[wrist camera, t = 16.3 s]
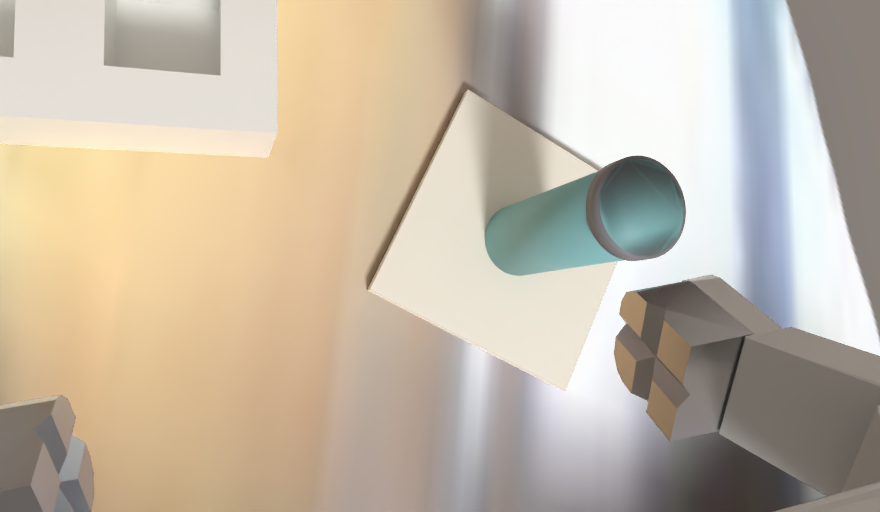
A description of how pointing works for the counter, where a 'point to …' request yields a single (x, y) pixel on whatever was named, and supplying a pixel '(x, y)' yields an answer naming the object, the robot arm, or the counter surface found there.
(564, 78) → the counter surface
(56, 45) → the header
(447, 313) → the mat
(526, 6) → the counter surface
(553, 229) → the tumbler
